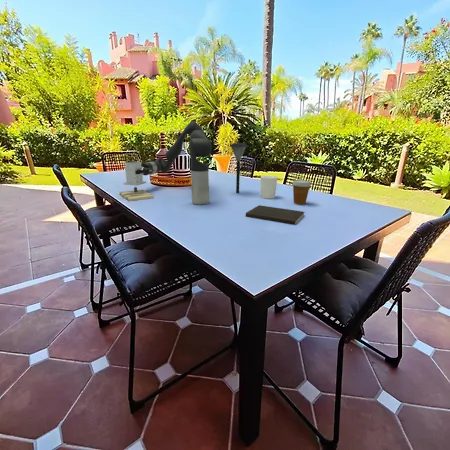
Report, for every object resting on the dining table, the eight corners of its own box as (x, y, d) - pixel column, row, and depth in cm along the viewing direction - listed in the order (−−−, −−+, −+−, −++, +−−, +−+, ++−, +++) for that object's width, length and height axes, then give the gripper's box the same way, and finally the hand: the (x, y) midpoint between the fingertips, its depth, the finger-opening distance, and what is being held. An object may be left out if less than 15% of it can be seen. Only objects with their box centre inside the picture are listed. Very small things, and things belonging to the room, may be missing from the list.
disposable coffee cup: (288, 204, 146) (290, 181, 142) (293, 200, 154) (295, 179, 150) (306, 206, 142) (309, 183, 138) (310, 202, 149) (312, 180, 146)
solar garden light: (247, 191, 175) (249, 143, 165) (247, 195, 164) (249, 143, 154) (228, 190, 176) (229, 142, 166) (227, 195, 165) (227, 143, 155)
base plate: (153, 198, 156) (152, 188, 154) (128, 201, 148) (127, 191, 147) (142, 191, 171) (141, 183, 170) (119, 194, 164) (118, 185, 162)
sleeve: (146, 182, 160) (144, 162, 156) (136, 185, 152) (134, 164, 148) (133, 181, 163) (131, 161, 159) (123, 184, 155) (121, 163, 151)
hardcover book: (258, 209, 137) (259, 205, 136) (304, 216, 127) (304, 211, 126) (245, 217, 124) (245, 212, 123) (294, 226, 113) (295, 221, 113)
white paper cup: (277, 199, 156) (278, 178, 152) (260, 198, 156) (261, 178, 152) (274, 195, 165) (276, 175, 161) (258, 195, 165) (259, 175, 161)
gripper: (137, 161, 169) (119, 164, 154) (157, 162, 165) (141, 166, 150) (139, 173, 172) (121, 178, 157) (158, 175, 167) (142, 179, 152)
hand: (131, 172), depth 153 cm, fingers closed on sleeve, 6 cm apart
